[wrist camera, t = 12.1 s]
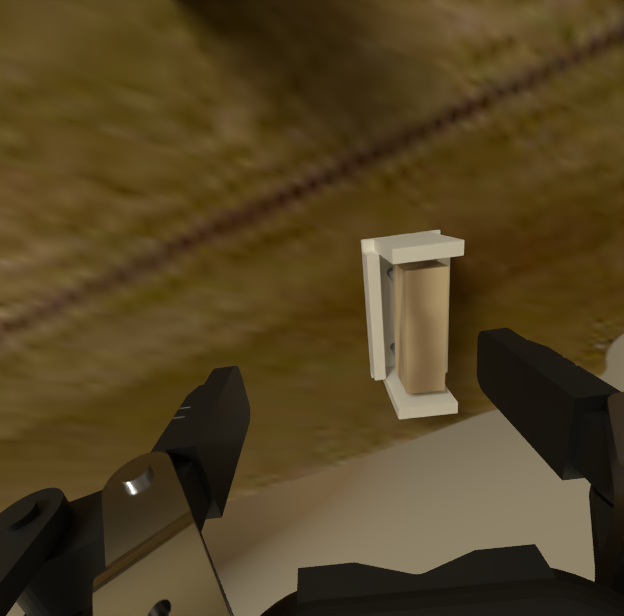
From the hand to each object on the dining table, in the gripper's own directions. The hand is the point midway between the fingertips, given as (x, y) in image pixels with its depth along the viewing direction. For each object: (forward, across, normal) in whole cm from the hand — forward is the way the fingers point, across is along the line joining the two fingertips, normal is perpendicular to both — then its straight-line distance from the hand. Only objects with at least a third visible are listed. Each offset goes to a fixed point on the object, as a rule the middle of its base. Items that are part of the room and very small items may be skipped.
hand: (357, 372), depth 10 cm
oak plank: (+27, -10, +10) cm, 30 cm away
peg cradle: (+31, -10, +10) cm, 34 cm away
